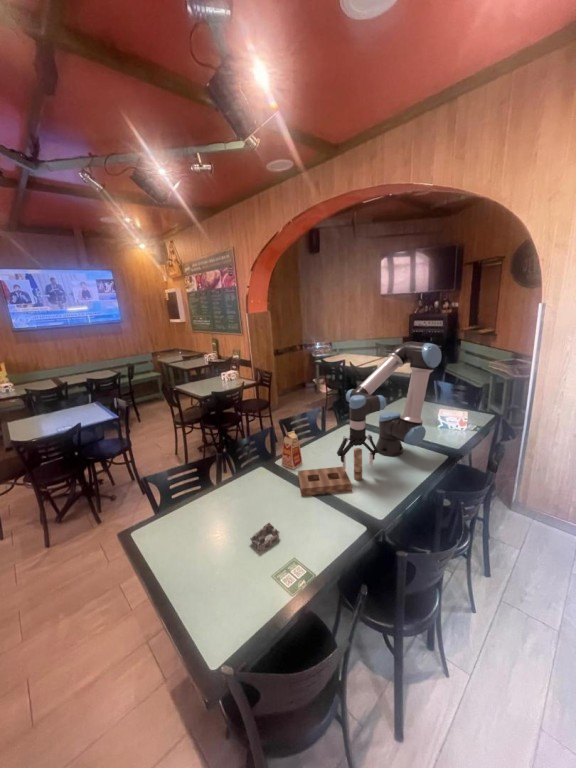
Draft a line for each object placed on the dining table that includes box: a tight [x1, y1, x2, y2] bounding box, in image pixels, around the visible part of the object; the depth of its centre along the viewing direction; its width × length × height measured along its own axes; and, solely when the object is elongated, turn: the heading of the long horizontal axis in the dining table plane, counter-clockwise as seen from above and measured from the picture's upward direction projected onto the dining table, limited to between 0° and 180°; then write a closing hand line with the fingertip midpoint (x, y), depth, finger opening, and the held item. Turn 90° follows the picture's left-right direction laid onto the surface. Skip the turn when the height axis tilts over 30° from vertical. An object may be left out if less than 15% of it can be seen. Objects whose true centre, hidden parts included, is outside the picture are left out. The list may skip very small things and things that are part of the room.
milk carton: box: [281, 430, 303, 470], centre depth 174 cm, size 9×9×20 cm
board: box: [297, 466, 353, 497], centre depth 155 cm, size 24×16×4 cm, turn 94°
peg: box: [353, 447, 363, 482], centre depth 156 cm, size 4×4×16 cm
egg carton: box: [249, 522, 281, 552], centre depth 121 cm, size 11×8×4 cm
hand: (357, 466), depth 156 cm, fingers open, 13 cm apart
